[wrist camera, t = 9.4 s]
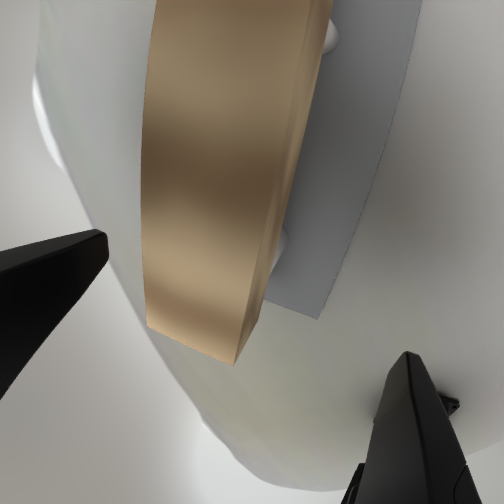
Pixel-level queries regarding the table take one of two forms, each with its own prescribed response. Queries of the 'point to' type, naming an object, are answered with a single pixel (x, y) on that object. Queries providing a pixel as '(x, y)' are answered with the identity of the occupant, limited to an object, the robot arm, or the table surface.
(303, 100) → the oak plank
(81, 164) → the table surface
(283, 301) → the peg board
